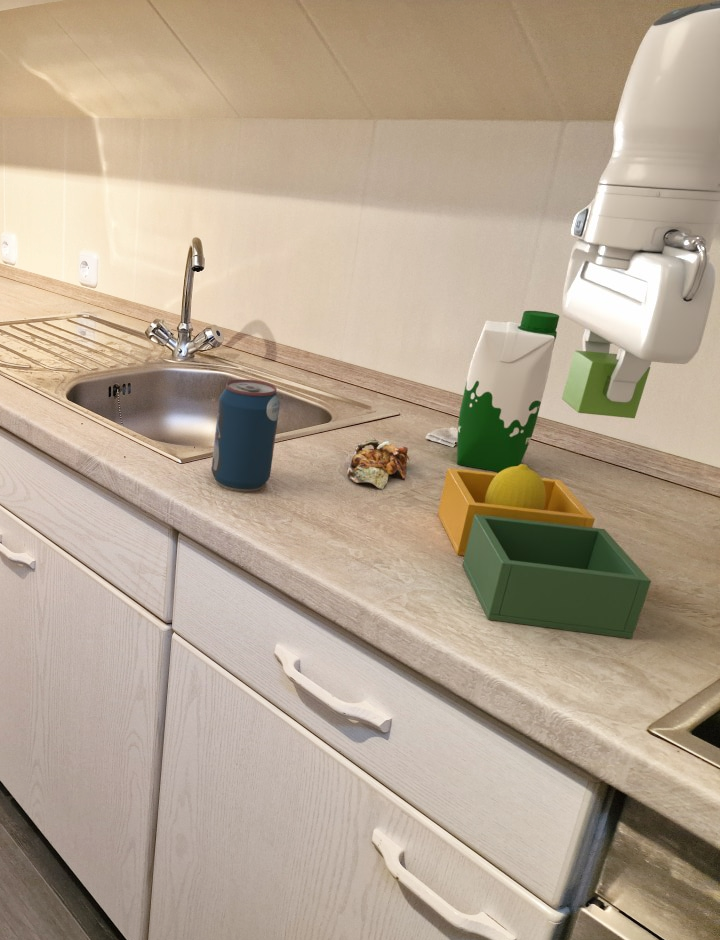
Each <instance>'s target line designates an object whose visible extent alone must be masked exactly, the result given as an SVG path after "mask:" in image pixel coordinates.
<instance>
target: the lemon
mask: <svg viewBox="0 0 720 940" xmlns="http://www.w3.org/2000/svg"><path fill="white" fill-rule="evenodd" d="M497 473H498V474H497V475H496V476H495V477H494V478H493V480H492V482H491V483H490V485H489V488H488V490H487V493H486V497H485V504H494V505H502V506H511V507H520V508H529V509H538V510H544V506H545V500H546V491H545V486H544V483H543V480H542V479H541V478H542V477H541V476H540V475H539V474H538V473H537V472H536V471H535V470H533V469H531V468H529V465H527V464H525V463H521V464H520V465H519V466H514V467H509V468H506V469H504V470H502V471H501V472H497Z"/></svg>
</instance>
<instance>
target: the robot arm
mask: <svg viewBox="0 0 720 940" xmlns="http://www.w3.org/2000/svg"><path fill="white" fill-rule="evenodd" d="M636 51H637V52H636V54H635V56H634V59H633V61H632V63H631V66H630V69H629V72H628V75H627V78H626V81H625V84H624V88H623V89H622V94H621V96H620V100H619V104H618V108H617V111H616V115H615V119H614V123H613V127H612V128H613V131H612V133H613V147H612V151H611V156H610V158H609V161H608V163H607V165H606V167H605V169H604V171H602V174H601V176H600V178H599V179H598V180H599V181H598V184H597V188H596V192H595V195H594V198H593V199H592V200H591V201H590V203H589V204H588V205H587V206H585V207H584V208H582V209H581V210H579V211H578V212H577V213H576V214H575V216H574V218H573V223H572V224H571V225H572V226H571V230H570V234H571V236H572V237H573V238H576V239H577V240H576V241H575V242H574V244H573V246H572V249H571V253H570V257H569V260H568V264H567V270H566V275H565V279H564V284H563V285H564V286H563V290H562V297H561V299H562V300H561V306H562V307H561V308H562V315H563V316H564V317H565V318H567V319H568V320H570V321H571V322H574V323H576V324H577V325H579V326H581V327H583V328H584V332H583V336H582V338H581V339H582V341H581V342H582V351H588V352H600V353H610V348H611V344H613V345H614V346H616V347H618V349H617V350H618V351H617V353H616V354H617V357H616V358H617V360H619V361H618V363H617V365H616V367H615V369H614V372H613V374H612V376H611V377H610V376H607V379H606V382H605V387H604V389H603V395H604V396H605V397H607V398H608V399H610V400H611V401H615V402H629V401H630V400H631V399H632V396H633V393H634V390H635V387H636V384H637V382H638V381H639V380H640V379H641V377H642V376H643V375H644V373H645V372H646V371H647V369H648V368H649V367H650V368H651V364H652V362H653V363H661V364H662V363H663V364H677V365H686V364H688V363H690V362H691V361H692V359H693V358H695V356H696V355H697V353H698V352H699V349H700V347H701V345H702V340H703V337H704V333H705V330H706V327H707V321H708V318H709V313H710V310H711V306H712V301H713V296H714V291H715V284H716V271H715V266H713V264H712V263H711V262H710V255H709V252H710V250H711V247H712V244H713V240H714V237H715V234H716V231H717V228H718V225H719V222H720V0H715V1H713V2H712V1H711V2H707V3H701V4H700V3H699V4H695V5H691V6H686V7H681V8H677V9H674V10H671V11H669V12H667V13H665V14H663V15H661V17H660V18H658V19H657V20H656V21H654V22H653V23H652V24H651V25H650V27H649V28H648V29H647V32H646V33H645V34H644V37H643V38H642V41H641V42H640V44H639V47H638V49H637V50H636Z"/></svg>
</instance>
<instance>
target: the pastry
mask: <svg viewBox="0 0 720 940" xmlns="http://www.w3.org/2000/svg"><path fill="white" fill-rule="evenodd" d="M367 446H372V447H373V448H367V449H364V448H365V447H367ZM408 451H409V449H408V447H406V446H399V447H397V446H395V445H393V444H392V443H391V441H389V440H386V441H384V442H380V443H379V440H377V439H375V437H373V438H372V437H371V438H370V439H369V440H365V441H364V442H363V443H361V442H360V443H357V445H356V447H355V449H354V451H353V455H352V456H351V457H350V461H349V464H348V468H347V473H346V475H347V477H348V479H349V480H352V482H355V483H370V484H372V485H374V486H375V487H376V488H378V489H380V490H384V488H385V486H386V485H387V484H388V480H389V475H393V474H395V473H396V472H397V471H398V472H399V474H400V476H401V477H402V480H406V474H407V472H408V471H407V470H408V469H407V466H406V465H407V462H410V457H409V456H408Z"/></svg>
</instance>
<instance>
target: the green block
mask: <svg viewBox="0 0 720 940" xmlns="http://www.w3.org/2000/svg"><path fill="white" fill-rule="evenodd" d="M617 354H618V353H610V352H609V353H600V352H588V351H583V350H577V349H576V350H574V353H573V355H572V359H571V363H570V367H569V370H568V373H567V374H568V375H567V377H566V382H565V385H564V388H563V393H562V396H561V399H562V401H564V402H565V403H566V404H567V405H568V406H569V407H570V408H572V409H573V410H574V411H576V412H577V413H578V414H587V415H594V416H595V415H596V416H606V417H617V418H626V419H636V416H637V413H638V409H639V406H640V402H641V399H642V396H643V393H644V390H645V386H646V383H647V380H648V376H649V373H650V370H651V366H650V367H649V368H648V369H647V371H646V372H645V373H644V375H643V376H642V377H641V379H640V380H639V381H638V382H637V384H636V387H635V390H634V393H633V396H632V399H631V400H630V401H629V402H615V401H611V400H610V399H608V398H607V397H605V396H604V395H603V389H604V387H605V382H606V379H607V376H610V377H611V376H612V374H613V372H614V369H615V367H616V365H617V363H618V361H619V360H617V358H616V357H617Z"/></svg>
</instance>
